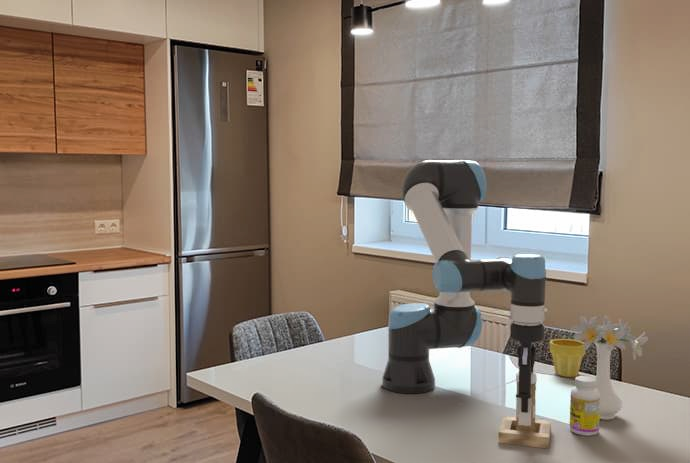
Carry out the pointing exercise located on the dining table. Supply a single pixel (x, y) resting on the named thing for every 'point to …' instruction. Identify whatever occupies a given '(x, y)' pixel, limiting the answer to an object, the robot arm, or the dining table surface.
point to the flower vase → (607, 356)
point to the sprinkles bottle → (533, 406)
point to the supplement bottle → (585, 407)
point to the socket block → (525, 433)
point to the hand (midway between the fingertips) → (525, 421)
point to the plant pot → (567, 356)
